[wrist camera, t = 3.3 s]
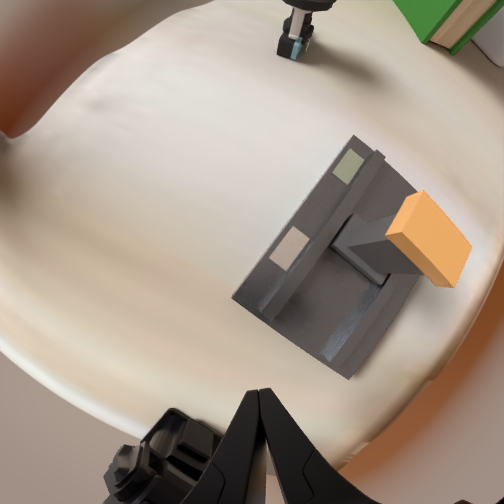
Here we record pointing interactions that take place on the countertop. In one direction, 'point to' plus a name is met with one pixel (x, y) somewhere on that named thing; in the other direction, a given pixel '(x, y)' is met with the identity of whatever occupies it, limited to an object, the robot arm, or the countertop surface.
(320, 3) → the push button
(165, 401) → the countertop surface
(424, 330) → the countertop surface
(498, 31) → the plastic bottle
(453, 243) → the lever
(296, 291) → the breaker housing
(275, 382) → the countertop surface
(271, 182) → the countertop surface
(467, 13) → the hardback book
